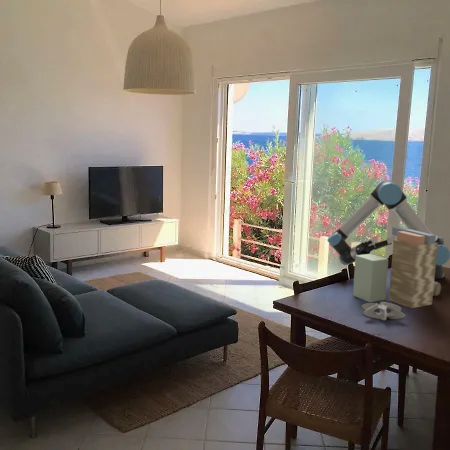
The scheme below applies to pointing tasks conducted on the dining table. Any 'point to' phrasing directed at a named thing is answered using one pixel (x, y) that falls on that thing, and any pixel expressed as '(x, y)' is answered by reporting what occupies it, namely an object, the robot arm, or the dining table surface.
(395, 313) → the sculpture
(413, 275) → the birch stand
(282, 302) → the dining table surface
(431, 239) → the slate bar
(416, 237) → the terracotta bar
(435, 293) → the ceramic mug
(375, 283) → the pale green pillar
